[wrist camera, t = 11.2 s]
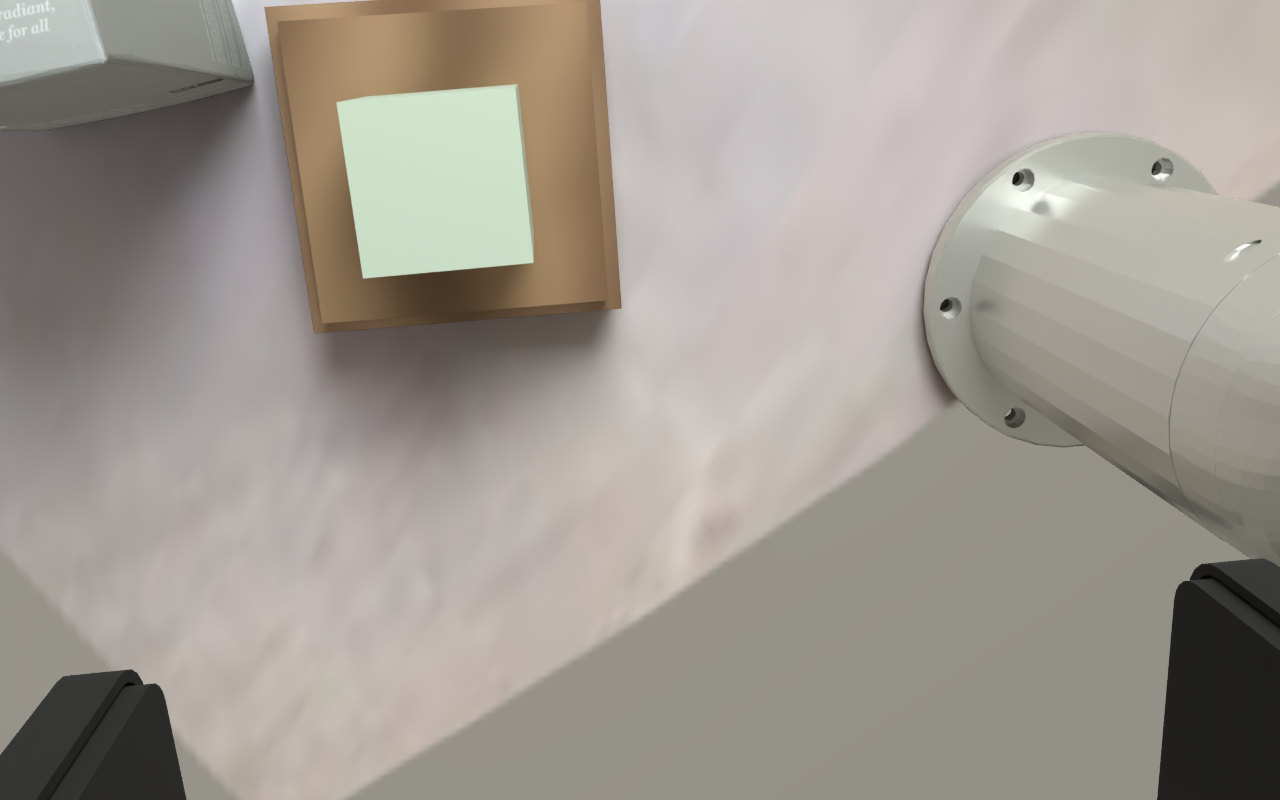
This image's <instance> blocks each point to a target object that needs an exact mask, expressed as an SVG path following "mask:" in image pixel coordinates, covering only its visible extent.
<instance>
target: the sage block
mask: <svg viewBox="0 0 1280 800" xmlns="http://www.w3.org/2000/svg"><path fill="white" fill-rule="evenodd" d="M336 103H337V110H338V116H339V123H340V130H341V136H342V143H343V149H344V156H345V163H346V169H347V176H348V182H349V189H350V196H351V202H352V209H353V216H354V222H355V229H356V235H357V242H358V249H359V255H360V262H361V268H362V275H363V278H374V277H385V276H396V275H407V274H418V273H429V272H440V271H451V270H462V269H473V268H483V267H494V266H505V265H516V264H527V263H534V229H533V219H532V210H531V200H530V191H529V181H528V172H527V162H526V153H525V143H524V134H523V124H522V114H521V105H520V95H519V86H518V84H513V85H501V86H489V87H477V88H464V89H452V90H440V91H428V92H415V93H403V94H391V95H378V96H367V97H362V98H356V99H351V100H346V101H341V102H336Z"/></svg>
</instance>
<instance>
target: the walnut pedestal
mask: <svg viewBox="0 0 1280 800" xmlns="http://www.w3.org/2000/svg"><path fill="white" fill-rule="evenodd" d="M265 14H266V20H267V27H268V33H269V40H270V46H271V53H272V60H273V66H274V73H275V79H276V86H277V92H278V99H279V106H280V112H281V119H282V125H283V132H284V138H285V145H286V152H287V158H288V165H289V171H290V178H291V184H292V191H293V198H294V204H295V211H296V217H297V224H298V230H299V237H300V244H301V250H302V257H303V263H304V270H305V276H306V283H307V290H308V296H309V303H310V309H311V316H312V322H313V329H314V333H325V332H337V331H349V330H362V329H374V328H386V327H399V326H411V325H423V324H436V323H448V322H460V321H473V320H485V319H497V318H509V317H522V316H534V315H546V314H559V313H571V312H583V311H596V310H608V309H620V308H621V295H620V280H619V266H618V252H617V237H616V223H615V209H614V194H613V180H612V165H611V151H610V137H609V122H608V108H607V94H606V79H605V65H604V50H603V36H602V22H601V7H600V0H372V1H356V2H340V3H323V4H307V5H291V6H275V7H265ZM513 84H518V86H519V95H520V105H521V114H522V124H523V134H524V143H525V153H526V162H527V172H528V181H529V191H530V200H531V210H532V219H533V229H534V263H527V264H516V265H505V266H494V267H483V268H473V269H462V270H451V271H440V272H429V273H418V274H407V275H396V276H385V277H374V278H363V275H362V268H361V262H360V255H359V249H358V242H357V235H356V229H355V222H354V216H353V209H352V202H351V196H350V189H349V182H348V176H347V169H346V163H345V156H344V149H343V143H342V136H341V130H340V123H339V116H338V110H337V103H336V102H341V101H346V100H351V99H356V98H362V97H367V96H378V95H391V94H403V93H415V92H428V91H440V90H452V89H464V88H477V87H489V86H501V85H513Z"/></svg>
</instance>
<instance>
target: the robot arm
mask: <svg viewBox="0 0 1280 800" xmlns="http://www.w3.org/2000/svg"><path fill="white" fill-rule="evenodd" d="M1154 163H1155V166H1156V168H1155V171H1154V172H1153V173H1152V172H1151V170H1152V167H1153V164H1154ZM1016 172H1018V173H1019V176H1020V178H1019V181H1018V182H1017V183H1016V184H1013V183H1012V179H1013V176H1014V174H1015V173H1016ZM945 299H948V302H949V303H948V306H947V307H946V308H945V309H943V310H940V306H941V303H942V302H943V301H944V300H945ZM923 314H924V321H925V329H926V336H927V342H928V345H929V348H930V351H931V354H932V356H933V359H934V362H935V365H936V368H937V369H938V371H939V373H940V374H941V376H942V378H943V379H944V381H945V383H946V384H947V386H948V388H949V389H950V391H951V392H952V393H953V394H954V395H955V396H956V397H957V398H958V399H959V400H960V401H961V403H962V404H963V405H965V407H966V408H967V409H968V410H969V411H971V412H972V413H973V414H975V415H976V416H977V417H978V418H980V419H981V420H982V421H984V422H985V423H986V424H987V425H989V426H991V427H992V428H994V429H996V430H998V431H1000V432H1001V433H1003V434H1005V435H1007V436H1009V437H1012V438H1015V439H1019V440H1022V441H1026V442H1029V443H1032V444H1035V445H1044V446H1055V447H1071V446H1072V447H1073V446H1083V445H1086V446H1087V447H1089V448H1090V449H1092V450H1093V451H1094V452H1096V453H1097V454H1099V455H1100V456H1102V457H1103V458H1104V459H1106V460H1107V461H1109V462H1110V463H1112V464H1113V465H1115V466H1116V467H1117V468H1119V469H1120V470H1122V471H1123V472H1125V473H1126V474H1127V475H1129V476H1130V477H1132V478H1133V479H1135V480H1136V481H1138V482H1139V483H1140V484H1142V485H1143V486H1145V487H1146V488H1148V489H1149V490H1151V491H1152V492H1153V493H1155V494H1157V495H1158V496H1159V497H1161V498H1162V499H1164V500H1165V501H1167V502H1168V503H1169V504H1171V505H1172V506H1174V507H1175V508H1177V509H1178V510H1179V511H1181V512H1182V513H1184V514H1185V515H1187V516H1188V517H1189V518H1191V519H1192V520H1194V521H1195V522H1197V523H1198V524H1200V525H1201V526H1202V527H1204V528H1205V529H1207V530H1208V531H1210V532H1211V533H1213V534H1214V535H1216V536H1217V537H1218V538H1220V539H1222V540H1223V541H1225V542H1227V543H1229V544H1230V545H1231V546H1233V547H1234V548H1236V549H1237V550H1239V551H1240V552H1242V553H1243V554H1245V555H1246V556H1247V557H1249V558H1251V559H1249V560H1239V561H1228V562H1219V563H1209V564H1201V565H1200V566H1198V567H1197V568H1196V569H1195V570H1194V572H1193V574H1192V576H1191V577H1190V581H1184V582H1182V583H1181V584H1180V585H1179V586H1178V588H1177V590H1176V594H1175V599H1174V609H1173V621H1172V632H1171V644H1170V656H1169V668H1168V680H1167V692H1166V704H1165V716H1164V727H1163V739H1162V751H1161V762H1160V774H1159V786H1158V797H1157V800H1280V207H1276V206H1271V205H1265V204H1261V203H1255V202H1250V201H1245V200H1240V199H1235V198H1229V197H1224V196H1219V195H1218V193H1217V192H1216V191H1215V189H1214V188H1213V187H1212V186H1211V184H1210V183H1209V182H1208V181H1207V179H1206V178H1205V177H1204V175H1203V174H1202V173H1201V172H1200V171H1199V170H1198V169H1197V168H1195V167H1194V166H1193V165H1192V164H1190V163H1189V162H1188V161H1187V160H1185V159H1184V158H1183V157H1182V156H1180V155H1179V154H1178V153H1176V152H1173V151H1171V150H1169V149H1167V148H1165V147H1163V146H1161V145H1159V144H1157V143H1155V142H1153V141H1149V140H1145V139H1141V138H1137V137H1133V136H1129V135H1125V134H1114V133H1104V132H1093V133H1079V134H1068V135H1065V136H1061V137H1057V138H1054V139H1050V140H1046V141H1043V142H1039V143H1037V144H1035V145H1033V146H1031V147H1029V148H1027V149H1025V150H1023V151H1021V152H1019V153H1017V154H1015V155H1013V156H1011V157H1009V158H1008V159H1007V160H1005V161H1004V162H1003V163H1001V164H1000V165H998V166H997V167H996V168H994V169H993V170H992V171H990V172H989V173H987V174H986V175H985V176H984V177H983V178H982V179H981V180H980V181H979V182H978V183H977V184H976V185H975V186H974V187H973V188H972V189H971V190H970V192H969V193H968V194H967V195H966V196H965V197H964V198H963V199H962V201H961V202H960V203H959V205H958V206H957V208H956V209H955V211H954V212H953V214H952V215H951V217H950V218H949V220H948V221H947V223H946V224H945V226H944V228H943V231H942V233H941V235H940V237H939V240H938V242H937V244H936V246H935V249H934V251H933V253H932V257H931V261H930V265H929V269H928V273H927V277H926V281H925V293H924V310H923ZM1009 409H1011V413H1010V414H1009V415H1008V416H1006V417H1005V414H1006V413H1007V412H1008V410H1009ZM0 800H186V795H185V791H184V786H183V781H182V777H181V772H180V767H179V762H178V758H177V753H176V748H175V743H174V739H173V734H172V729H171V724H170V720H169V715H168V710H167V705H166V701H165V697H164V694H163V691H162V690H161V688H160V686H158V685H157V684H145V685H143V682H142V680H141V678H140V677H139V675H138V673H136V672H135V671H133V670H121V671H111V672H101V673H91V674H81V675H71V676H64V677H62V678H61V679H60V680H59V681H58V682H57V683H56V684H55V685H54V687H53V688H52V689H51V691H50V692H49V693H48V694H47V696H46V697H45V698H44V699H43V701H42V702H41V703H40V705H39V706H38V707H37V709H36V710H35V711H34V712H33V714H32V715H31V716H30V718H29V719H28V720H27V721H26V723H25V724H24V725H23V727H22V728H21V729H20V730H19V732H18V733H17V734H16V736H15V737H14V738H13V739H12V741H11V742H10V744H9V745H8V746H7V747H6V749H5V750H4V751H3V752H2V754H1V755H0Z"/></svg>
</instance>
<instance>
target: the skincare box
mask: <svg viewBox="0 0 1280 800" xmlns="http://www.w3.org/2000/svg"><path fill="white" fill-rule="evenodd" d="M253 81H254V76H253V72H252V69H251V65H250V61H249V58H248V54H247V51H246V48H245V44H244V41H243V37H242V34H241V31H240V27H239V24H238V21H237V17H236V14H235V11H234V8H233V4H232V1H231V0H0V130H5V131H43V130H49V129H55V128H61V127H66V126H72V125H78V124H83V123H89V122H94V121H99V120H105V119H110V118H115V117H120V116H125V115H130V114H135V113H140V112H145V111H150V110H155V109H159V108H163V107H168V106H172V105H177V104H181V103H185V102H189V101H193V100H197V99H201V98H205V97H209V96H213V95H216V94H220V93H224V92H228V91H231V90H235V89H239V88H243V87H246V86H249V85H251V84H252V83H253Z"/></svg>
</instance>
